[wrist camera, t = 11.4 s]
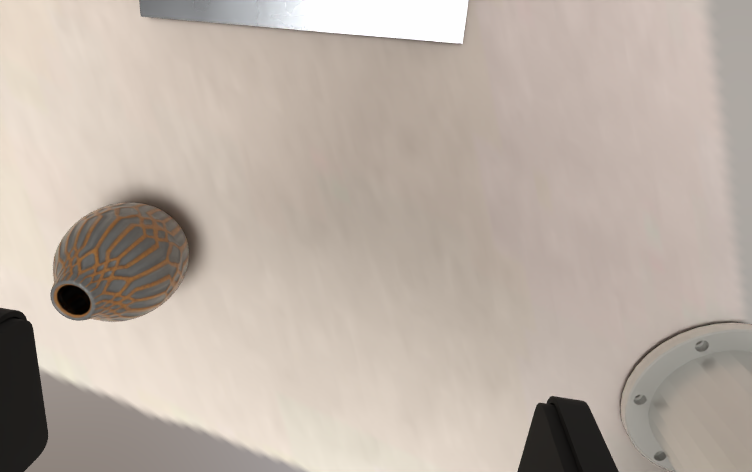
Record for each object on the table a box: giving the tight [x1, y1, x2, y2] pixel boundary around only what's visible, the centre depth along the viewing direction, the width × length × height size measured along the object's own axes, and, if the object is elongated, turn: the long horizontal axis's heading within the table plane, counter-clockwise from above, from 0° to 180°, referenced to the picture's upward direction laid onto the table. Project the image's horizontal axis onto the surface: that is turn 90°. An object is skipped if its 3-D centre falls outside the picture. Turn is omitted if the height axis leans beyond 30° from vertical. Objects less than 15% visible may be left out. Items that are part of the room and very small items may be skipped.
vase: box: [51, 203, 189, 322], centre depth 30 cm, size 7×7×9 cm
